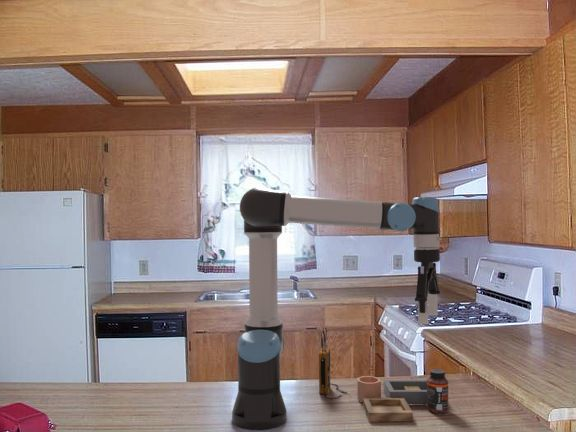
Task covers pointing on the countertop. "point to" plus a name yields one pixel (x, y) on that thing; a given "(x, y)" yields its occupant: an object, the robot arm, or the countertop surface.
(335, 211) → the robot arm
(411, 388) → the pad
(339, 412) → the countertop surface
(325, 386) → the multimeter
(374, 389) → the empty cup
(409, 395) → the tray
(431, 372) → the supplement bottle
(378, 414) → the square wooden tray
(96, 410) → the countertop surface
